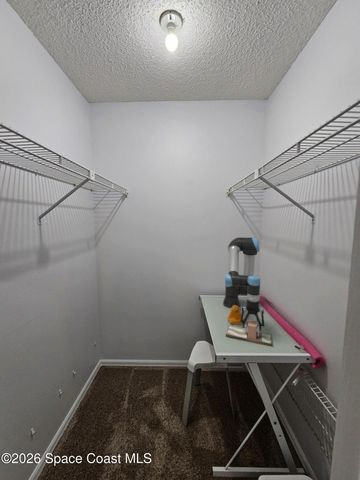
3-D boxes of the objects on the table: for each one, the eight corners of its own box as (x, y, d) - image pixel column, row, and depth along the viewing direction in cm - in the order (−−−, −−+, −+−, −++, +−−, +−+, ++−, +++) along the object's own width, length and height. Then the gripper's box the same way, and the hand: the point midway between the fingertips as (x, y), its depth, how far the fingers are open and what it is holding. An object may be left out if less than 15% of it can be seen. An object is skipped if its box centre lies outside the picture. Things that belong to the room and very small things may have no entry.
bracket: (230, 324, 151) (231, 309, 150) (227, 320, 158) (228, 305, 157) (245, 324, 151) (245, 308, 151) (241, 319, 159) (241, 304, 158)
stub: (248, 330, 139) (248, 319, 138) (256, 332, 137) (256, 320, 136) (247, 337, 130) (248, 325, 130) (255, 339, 128) (256, 326, 128)
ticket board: (228, 328, 145) (228, 325, 145) (271, 336, 135) (271, 333, 135) (225, 337, 134) (225, 334, 134) (272, 346, 124) (272, 343, 123)
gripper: (236, 299, 132) (234, 333, 134) (270, 304, 125) (268, 340, 126) (237, 296, 139) (236, 328, 141) (270, 300, 132) (268, 334, 133)
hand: (251, 334), depth 133 cm, fingers open, 7 cm apart
